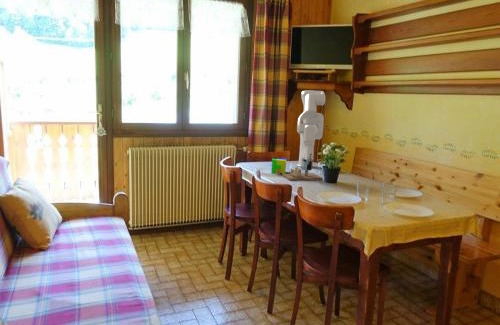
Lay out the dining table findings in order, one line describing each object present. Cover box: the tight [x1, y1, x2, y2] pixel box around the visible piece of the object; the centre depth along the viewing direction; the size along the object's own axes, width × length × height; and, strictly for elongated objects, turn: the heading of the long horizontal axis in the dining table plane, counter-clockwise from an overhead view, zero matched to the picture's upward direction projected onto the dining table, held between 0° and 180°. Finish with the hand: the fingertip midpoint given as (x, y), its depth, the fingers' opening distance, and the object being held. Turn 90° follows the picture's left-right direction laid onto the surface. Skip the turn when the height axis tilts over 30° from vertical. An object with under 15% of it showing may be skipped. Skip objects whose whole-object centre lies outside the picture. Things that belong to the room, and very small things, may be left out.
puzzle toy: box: [271, 156, 287, 175], centre depth 285 cm, size 10×10×10 cm
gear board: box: [281, 166, 323, 182], centre depth 271 cm, size 14×24×8 cm, turn 105°
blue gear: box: [301, 161, 313, 172], centre depth 271 cm, size 7×7×5 cm
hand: (306, 168), depth 271 cm, fingers closed on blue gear, 6 cm apart
